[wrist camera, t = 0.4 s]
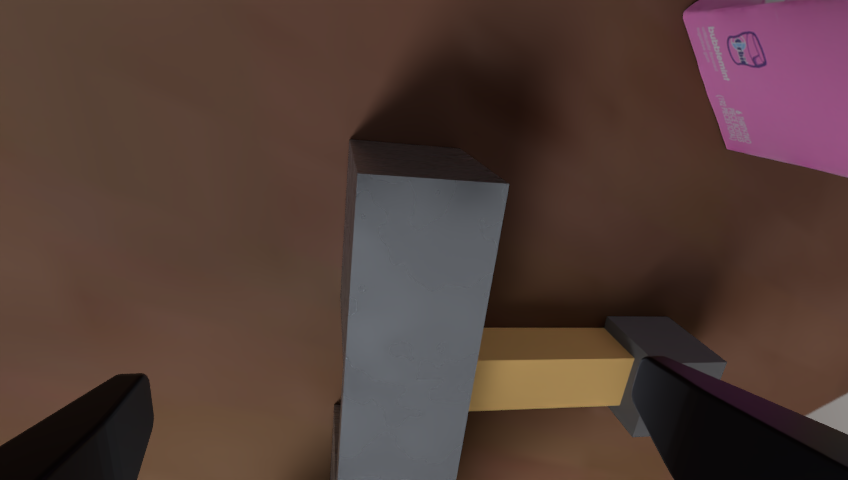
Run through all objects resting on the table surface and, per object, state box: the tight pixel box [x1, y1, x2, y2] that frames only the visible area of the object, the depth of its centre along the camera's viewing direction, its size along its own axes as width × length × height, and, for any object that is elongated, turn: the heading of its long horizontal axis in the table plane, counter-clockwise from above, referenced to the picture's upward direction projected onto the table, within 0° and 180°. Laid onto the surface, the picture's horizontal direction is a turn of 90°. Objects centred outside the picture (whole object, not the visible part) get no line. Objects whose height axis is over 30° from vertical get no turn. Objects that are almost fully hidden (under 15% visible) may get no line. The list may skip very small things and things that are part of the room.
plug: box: [469, 316, 727, 437], centre depth 25 cm, size 4×16×4 cm, turn 84°
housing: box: [330, 139, 509, 480], centre depth 22 cm, size 22×5×6 cm, turn 174°
